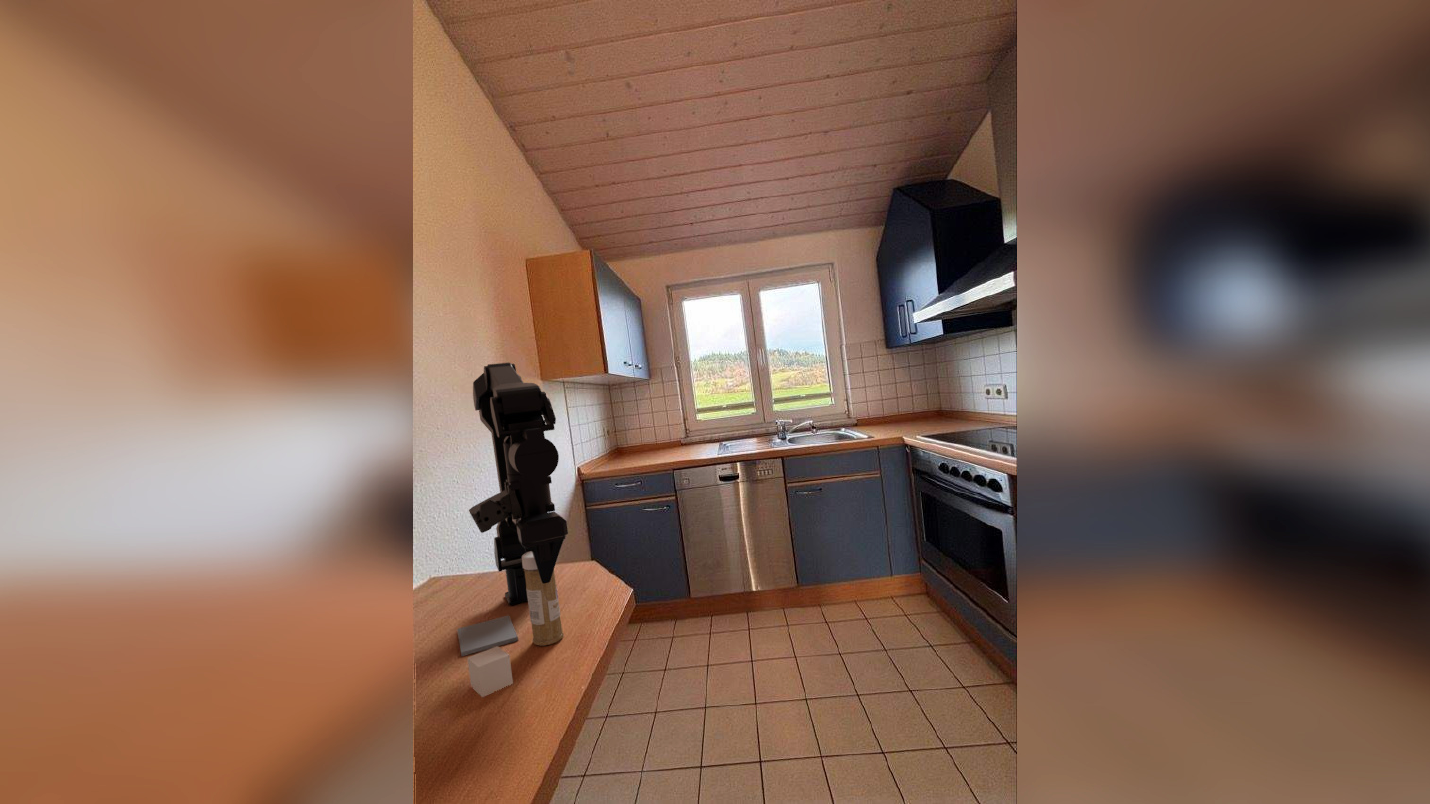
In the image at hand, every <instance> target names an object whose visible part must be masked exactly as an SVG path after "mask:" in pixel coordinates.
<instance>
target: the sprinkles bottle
mask: <svg viewBox="0 0 1430 804" xmlns="http://www.w3.org/2000/svg"><path fill="white" fill-rule="evenodd" d="M522 565H523V568H524V572H525V578H526V586H527V587H526V590H527V598H528V601H527V603H528V612H529V618H530V620H529V621H530V623H531V630H532V644H534V645H537V646H541V647H543V646H549V645H553V644H555V643H557V642H559V641H560V640H562V639H563V637H564V632H563V628H562V620H561V610H560V603H559V602H560V601H559V595H558V588H557V582H556V574H555V570H554V571H553V574H552V577H551V580H550V582H549V583H545V584H543V583H542V582H541V579H540V576H539V573H538V569H537V566H536V563H535V560H534V557H533V554H532V551H529V552H527V553H525V554H524V555H523V556H522Z"/></svg>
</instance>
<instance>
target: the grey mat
mask: <svg viewBox="0 0 1430 804" xmlns="http://www.w3.org/2000/svg"><path fill="white" fill-rule="evenodd" d="M456 631H457V637H458V642H459V649H460V654H461V657H465V656H467V655H472V654H474V653H476V654H477V653H478V652H479V653H480V652H484V651H486V650H489V649H491V648H494V647H496V646H498V647H499V646H504V645H507V644H511V643H515V642H518V641H519V637H518V634H517V631H516V629H515V627H514V625H513V622H512V620H511V617H510V615H509V614H508V615H505V616H501V617H497V618H493V619H489V620H486V621H481V622H477V623H474V624H471V625H467V626H463V627H459V628H457V630H456Z"/></svg>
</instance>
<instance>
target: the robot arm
mask: <svg viewBox="0 0 1430 804" xmlns="http://www.w3.org/2000/svg"><path fill="white" fill-rule="evenodd" d="M522 379H523V378H522V377H521V375H519V374H518V372H517V368H516V365H515V363H511V362H501V363H500V362H498V363H491V364H487V365H484V366H483V373H482V374H480V375H479V376H478V377H477V378H476V379H475V380H474V381H473V382H472V399H473V405H474V410H475V411H478V413H479V419H480V421H481V423H482V424H483V425H484V426H485V428H486V429H488V431H489V432H490V435H491V439H492V446H493V453H494V458H495V459H494V460H495V466H496V472H497V480H498V486H499V487H498V488H499V492H498V493H496V494H494V495H492V496H490V497H488V498H487V499H485V500H483V501H481V502H479V503H477V504H475V505H474V506H472V507H471V508H469V509H468V513H469V514H470V516H471V518H472V519H473V521H474V523H475V525H476V526H477V528H478V530H479V532H480V533H482V534H483V533H485V532H488V531H489V530H491V529H492V527H494V526H495V525H496V526H495V527H496V528H495V530H496V537H495V536H494V537H493V549H494V551H493V552H494V554H493V555H494V560H495V565H496V568H497V570H498V572H502V571H505V576H506V577H505V579H506V583H507V591H506V592H504V597H505V599H506V600H507V604H508V605H509V606H514V605H517V604H521V603H525V602H528V598H527V590H526V587H527V586H526V578H525V572H524V568H523V565H522V556H523V555H524V554H525V553H527V552H529V551H532V554H533V557H534V560H535V563H536V566H537V569H538V573H539V576H540V579H541V582H542V583H543V584H545V583H549V582H550V580H551V577H552V574H553V571H554V572H555V568H556V567H555V566H556V564H557V560H558V558H559V554H560V552H561V549H562V546H563V544H564V541H565V540H566V537H567V535H569V532H568V523H567V520H566V519H565V518H564V517H563V516H561V515H560V514H558V513H557V512H555V511H556V507H555V503H553V502H552V497H551V496H552V495H551V488H550V484H552V482H553V481H552V477H551V475H552V474H553V473H554V472H555V471H556V469H557V467H558V465H559V460H560V459H559V457H560V456H559V451H558V449H557V447H556V446H555V444H554V443H553V442H552V441H551V440H549V439H548V438H546V437H545V432H548V431H554V430H555V425H556V421H557V420H556V419H557V418H556V415H555V412H554V409H553V406H552V402H551V399H550V398H549V397H547V392H545V391H544V390H543V391H542V389H541V387H540V386H539V385H538V384H537V383H534V382H524V380H522Z"/></svg>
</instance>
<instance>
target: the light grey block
mask: <svg viewBox="0 0 1430 804" xmlns="http://www.w3.org/2000/svg"><path fill="white" fill-rule="evenodd" d="M467 664H468V665H467V666H468V672H469V673H468V674H469V682H470V687H471V686H472V687H473V688H472V687H471V688H472V690H474V691H475V692H476V693H477V694H478V695H479V696H480V697H481V698H484V697H486V696H488V695H491V694H493V693H495V692H494V691H496V692H498V691H500V690H502V688H503V689H505V688H507V687H509V686H512V685H513V684H514V679H513V674H512V673H513V672H512V665H511V658H510V654H509V653H508V652H506V651H504V649H502V648H501V647H499V646H496V647H493V648H490V649H486V650H483V651H480V652H479V653H478V652H477V653H476V654H474V655H471V656H468V657H467ZM511 684H512V685H511ZM508 685H509V686H508ZM506 686H507V687H506ZM504 687H505V688H504ZM499 689H500V690H499ZM497 690H498V691H497Z"/></svg>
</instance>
